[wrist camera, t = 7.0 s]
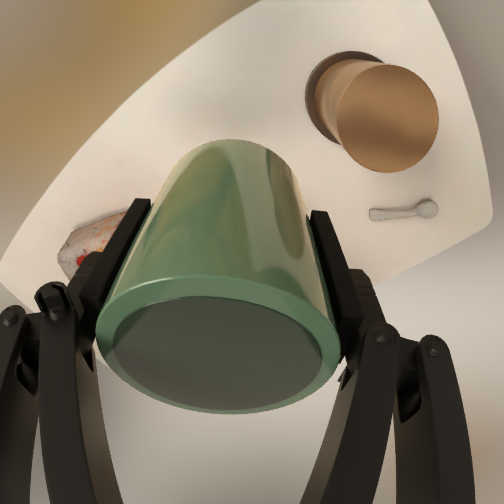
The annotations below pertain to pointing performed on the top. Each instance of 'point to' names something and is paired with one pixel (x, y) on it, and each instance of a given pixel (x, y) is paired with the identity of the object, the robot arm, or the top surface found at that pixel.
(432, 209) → the spoon
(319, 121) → the wooden cylinder
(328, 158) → the top surface
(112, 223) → the food item
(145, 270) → the green cup
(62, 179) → the top surface
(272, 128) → the top surface
